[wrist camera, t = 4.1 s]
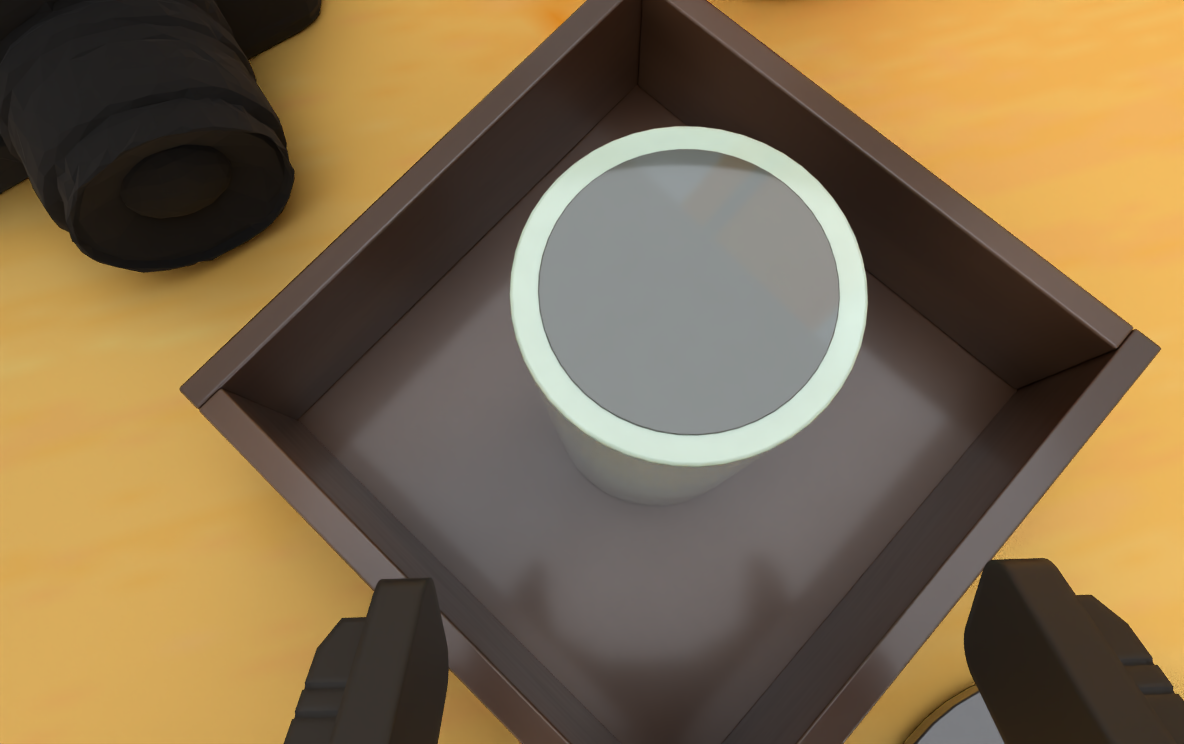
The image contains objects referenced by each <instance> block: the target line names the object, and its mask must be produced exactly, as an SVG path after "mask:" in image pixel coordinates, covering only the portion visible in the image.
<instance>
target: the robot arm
mask: <svg viewBox="0 0 1184 744" xmlns="http://www.w3.org/2000/svg"><path fill="white" fill-rule="evenodd" d="M964 649H965V656H966V661H967V664H968V667H969V670H970V673H971V675H972V678H973V680H974V682H975V684H976V686H977V688H978V690H979V692H980V694H981V696H982V698H983V700H984V702H985V705H986V707H987V709H988V711H989V713H990V715H991V717H992V719H993V721H994V723H995V725H996V727H997V729H998V732H999V734H1000V736H1001V738H1002V740H1003V742H1004V744H1184V701H1183V699H1182V698H1181V697H1180V695H1179V694H1175V693H1174V691H1173V686H1172V684H1171V683H1170V681H1169V680H1168V679H1167V677H1166V676H1165V675H1164V673H1163V672H1162V670H1161V669H1160V668H1159V666H1158V665H1154V664H1153V661H1152V659H1153V658H1152V657H1151V655H1150V654H1149V652H1148V651H1147V650H1146V648H1145V647H1144V646H1143V644H1142V643H1141V641H1140V640H1139V639H1138V637H1137V636H1136V635H1135V633H1134V632H1133V630H1132V629H1131V628H1130V626H1129V625H1128V624H1127V623H1126V622H1125V621H1124V620H1122V619H1121V618H1120V617H1119V616H1117V615H1116V614H1115V613H1114V612H1112V611H1111V610H1110V609H1109V608H1107V607H1106V606H1105V605H1104V604H1102V603H1101V602H1100V601H1099V600H1097V599H1096V598H1095V597H1094V596H1092V595H1075V593H1074V592H1073V590H1072V589H1071V587H1070V586H1069V584H1068V583H1067V582H1066V580H1065V579H1064V577H1063V576H1062V574H1061V573H1060V571H1059V570H1058V568H1057V567H1056V566H1055V565H1054V564H1053V563H1052V562H1051V561H1049V560H1048V559H1045V558H1033V559H1004V560H990V561H988V562H987V563H986V565H985V566H984V569H983V572H982V575H981V578H980V582H979V585H978V588H977V591H976V595H975V598H974V601H973V604H972V608H971V611H970V614H969V617H968V621H967V624H966V627H965V632H964ZM448 671H449V658H448V646H447V641H446V636H445V631H444V627H443V622H442V617H441V612H440V608H439V603H438V598H437V593H436V589H435V584H434V581H433V579H432V578H431V577H429V578H400V579H381V580H379V581H378V583H377V585H376V587H375V590H374V593H373V596H372V600H371V603H370V606H369V610H368V613H367V616H366V617H358V618H342V619H341V620H340V621H339V622H338V623H337V625H336V626H335V627H334V628H333V630H332V631H331V632H330V633H329V634H328V636H327V637H326V638H325V639H324V641H323V642H322V643H321V644H320V645H319V647H318V648H317V650H316V653H315V656H314V658H313V661H312V664H311V667H310V670H309V673H308V676H307V678H306V681H305V689H304V690H302V693H301V696H300V698H299V701H298V704H297V707H296V710H295V718H294V719H292V721H291V724H290V727H289V730H288V733H287V736H286V738H285V741H284V744H438V738H439V732H440V726H441V721H442V715H443V709H444V703H445V697H446V692H447V684H448Z"/></svg>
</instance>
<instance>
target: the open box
mask: <svg viewBox="0 0 1184 744" xmlns="http://www.w3.org/2000/svg"><path fill="white" fill-rule="evenodd" d="M675 126H692V127H706V128H714V129H721V130H725V131H729V132H733V133H737V134H741V135H744V136H747V137H749V138H752V139H755V140H757V141H760V142H762V143H765V144H767V145H768V146H770V147H772V148H774V149H776V150H778V151H780V152H782V153H784V154H785V155H786V156H788V157H789V158H791V159H792V160H794V161H795V162H796V163H798V164H799V165H801V166H802V167H803V168H804V169H806V170H807V171H808V172H809V173H810V174H811V175H812V176H813V177H814V178H816V179H817V180H818V181H819V182H820V183H821V185H822V186H823V187H824V188H825V189H826V190H827V192H828V193H829V194H830V195H831V196H832V197H833V199H834V200H835V202H836V203H837V205H838V206H839V208H840V209H841V211H842V212H843V214H844V215H845V217H846V219H847V221H848V223H849V225H850V227H851V229H852V231H853V233H854V235H855V237H856V240H857V243H858V246H859V249H860V252H861V255H862V258H863V263H864V268H865V273H866V279H867V293H868V309H867V320H866V328H865V332H864V336H863V341H862V345H861V348H860V351H859V354H858V356H857V359H856V361H855V364H854V367H853V369H852V371H851V373H850V374H849V376H848V378H847V380H846V381H845V383H844V385H843V387H842V389H841V390H840V391H839V393H838V394H837V395H836V397H835V398H834V399H833V400H832V402H831V403H830V404H829V406H828V407H827V408H826V409H825V410H824V411H823V412H822V413H821V414H820V415H819V416H818V417H817V418H816V419H815V420H814V421H813V422H812V423H811V424H810V425H808V426H807V427H806V428H804V429H803V430H802V431H800V432H799V433H798V434H796V435H795V436H794V437H792V438H791V439H789V440H788V441H786V442H785V443H783V444H782V445H780V446H779V447H777V448H775V449H774V450H772V451H771V452H769V453H768V454H766V455H765V456H763V457H762V458H760V459H758V460H757V461H755V462H754V463H752V464H751V465H749V466H748V467H746V468H745V469H743V470H741V471H740V472H738V473H737V474H735V475H734V476H732V477H731V478H729V479H728V480H726V481H724V482H723V483H721V484H720V485H718V486H717V487H715V488H714V489H712V490H711V491H709V492H707V493H705V494H703V495H702V496H700V497H697V498H695V499H692V500H690V501H687V502H684V503H679V504H675V505H668V506H644V505H637V504H632V503H629V502H626V501H622V500H619V499H617V498H615V497H613V496H610V495H608V494H607V493H605V492H603V491H602V490H600V489H599V488H597V487H596V486H594V485H593V484H592V483H591V482H590V481H588V480H587V479H586V478H585V477H584V476H583V475H582V474H581V473H580V472H579V471H578V469H577V468H576V467H575V465H574V464H573V463H572V461H571V460H570V458H569V456H568V455H567V453H566V451H565V449H564V447H563V445H562V443H561V441H560V438H559V436H558V434H557V432H556V430H555V428H554V425H553V423H552V421H551V419H550V417H549V415H548V412H547V410H546V408H545V406H544V404H543V402H542V399H541V397H540V395H539V393H538V391H537V389H536V386H535V384H534V382H533V380H532V378H531V376H530V373H529V371H528V369H527V367H526V365H525V363H524V360H523V357H522V355H521V352H520V349H519V347H518V344H517V341H516V338H515V333H514V329H513V324H512V320H511V310H510V298H509V293H510V274H511V269H512V264H513V259H514V253H515V250H516V247H517V244H518V241H519V238H520V235H521V232H522V230H523V228H524V226H525V224H526V222H527V220H528V218H529V216H530V214H531V212H532V211H533V209H534V208H535V206H536V205H537V203H538V202H539V200H540V199H541V197H542V196H543V194H544V193H545V192H546V191H547V190H548V189H549V188H550V186H551V185H552V184H553V183H554V182H555V181H556V180H557V178H558V177H560V176H561V175H562V174H563V173H564V172H565V171H567V170H568V169H569V168H570V167H571V166H572V165H573V164H575V163H576V162H577V161H579V160H580V159H582V158H583V157H585V156H586V155H588V154H589V153H591V152H592V151H594V150H596V149H598V148H600V147H602V146H604V145H606V144H608V143H610V142H612V141H614V140H617V139H620V138H622V137H625V136H628V135H631V134H634V133H638V132H642V131H647V130H651V129H656V128H666V127H675ZM1160 350H1161V348H1160V347H1159V346H1158V345H1157V344H1155V343H1154V342H1153V341H1152V340H1150V339H1149V338H1148V337H1146V336H1145V335H1144V334H1142V333H1141V332H1140V331H1138V330H1137V329H1134V330H1133V327H1132V326H1131V325H1130V324H1129V323H1127V322H1126V321H1125V320H1123V319H1122V318H1121V317H1120V316H1118V315H1117V314H1116V313H1114V312H1113V311H1112V310H1110V309H1109V308H1108V307H1107V306H1105V305H1104V304H1103V303H1101V302H1100V301H1099V300H1097V299H1096V298H1095V297H1093V296H1092V295H1091V294H1090V293H1088V292H1087V291H1086V290H1084V289H1083V288H1082V287H1080V286H1079V285H1078V284H1076V283H1075V282H1074V281H1073V280H1071V279H1070V278H1069V277H1067V276H1066V275H1065V274H1063V273H1062V272H1061V271H1059V270H1058V269H1057V268H1056V267H1054V266H1053V265H1052V264H1050V263H1049V262H1048V261H1046V260H1045V259H1044V258H1043V257H1041V256H1040V255H1039V254H1037V253H1036V252H1035V251H1033V250H1032V249H1031V248H1029V247H1028V246H1027V245H1026V244H1024V243H1023V242H1022V241H1020V240H1019V239H1018V238H1016V237H1015V236H1014V235H1012V234H1011V233H1010V232H1009V231H1007V230H1006V229H1005V228H1003V227H1002V226H1001V225H999V224H998V223H997V222H995V221H994V220H993V219H992V218H990V217H989V216H988V215H986V214H985V213H984V212H982V211H981V210H980V209H979V208H977V207H976V206H975V205H973V204H972V203H971V202H969V201H968V200H967V199H965V198H964V197H963V196H962V195H960V194H959V193H958V192H956V191H955V190H954V189H952V188H951V187H950V186H948V185H947V184H946V183H945V182H943V181H942V180H941V179H939V178H938V177H937V176H935V175H934V174H933V173H931V172H930V171H929V170H928V169H926V168H925V167H924V166H922V165H921V164H920V163H918V162H917V161H916V160H915V159H913V158H912V157H911V156H909V155H908V154H907V153H905V152H904V151H903V150H901V149H900V148H899V147H898V146H896V145H895V144H894V143H892V142H891V141H890V140H888V139H887V138H886V137H884V136H883V135H882V134H881V133H879V132H878V131H877V130H875V129H874V128H873V127H871V126H870V125H869V124H867V123H866V122H865V121H864V120H862V119H861V118H860V117H858V116H857V115H856V114H854V113H853V112H852V111H850V110H849V109H848V108H847V107H845V106H844V105H843V104H841V103H840V102H839V101H837V100H836V99H835V98H834V97H832V96H831V95H830V94H828V93H827V92H826V91H824V90H823V89H822V88H820V87H819V86H818V85H817V84H815V83H814V82H813V81H811V80H810V79H809V78H807V77H806V76H805V75H803V74H802V73H801V72H800V71H798V70H797V69H796V68H794V67H793V66H792V65H790V64H789V63H788V62H786V61H785V60H784V59H783V58H781V57H780V56H779V55H777V54H776V53H775V52H773V51H772V50H771V49H770V48H768V47H767V46H766V45H764V44H763V43H762V42H760V41H759V40H758V39H756V38H755V37H754V36H753V35H751V34H750V33H749V32H747V31H746V30H745V29H743V28H742V27H741V26H739V25H738V24H737V23H736V22H734V21H733V20H732V19H730V18H729V17H728V16H726V15H725V14H724V13H722V12H721V11H720V10H719V9H717V8H716V7H715V6H713V5H712V4H711V3H709V2H708V1H707V0H587V1H586V2H585V3H584V4H582V5H581V6H580V7H579V8H578V9H577V10H576V11H575V12H574V13H573V14H572V15H571V16H570V17H569V18H568V19H567V20H566V21H565V22H564V23H562V24H561V25H560V26H559V27H558V28H557V29H556V30H555V31H554V32H553V33H552V34H551V35H550V36H549V37H548V38H547V39H546V40H545V41H544V42H543V43H541V44H540V45H539V46H538V47H537V48H536V49H535V50H534V51H533V52H532V53H531V54H530V55H529V56H528V57H527V58H526V59H525V60H524V61H523V62H522V63H520V64H519V65H518V66H517V67H516V68H515V69H514V70H513V71H512V72H511V73H510V74H509V75H508V76H507V77H506V78H505V79H504V80H503V81H502V82H500V83H499V84H498V85H497V86H496V87H495V88H494V89H493V90H492V91H491V92H490V93H489V94H488V95H487V96H486V97H485V98H484V99H483V100H482V101H481V102H479V103H478V104H477V105H476V106H475V107H474V108H473V109H472V110H471V111H470V112H469V113H468V114H467V115H466V116H465V117H464V118H463V119H462V120H461V121H459V122H458V123H457V124H456V125H455V126H454V127H453V128H452V129H451V130H450V131H449V132H448V133H447V134H446V135H445V136H444V137H443V138H442V139H441V140H440V141H438V142H437V143H436V144H435V145H434V146H433V147H432V148H431V149H430V150H429V151H428V152H427V153H426V154H425V155H424V156H423V157H422V158H421V159H420V160H419V161H417V162H416V163H415V164H414V165H413V166H412V167H411V168H410V169H409V170H408V171H407V172H406V173H405V174H404V175H403V176H402V177H401V178H400V179H399V180H397V181H396V182H395V183H394V184H393V185H392V186H391V187H390V188H389V189H388V190H387V191H386V192H385V193H384V194H383V195H382V196H381V197H380V198H379V199H378V200H376V201H375V202H374V203H373V204H372V205H371V206H370V207H369V208H368V209H367V210H366V211H365V212H364V213H363V214H362V215H361V216H360V217H359V218H358V219H357V220H355V221H354V222H353V223H352V224H351V225H350V226H349V227H348V228H347V229H346V230H345V231H344V232H343V233H342V234H341V235H340V236H339V237H338V238H337V239H335V240H334V241H333V242H332V243H331V244H330V245H329V246H328V247H327V248H326V249H325V250H324V251H323V252H322V253H321V254H320V255H319V256H318V257H317V258H316V259H314V260H313V261H312V262H311V263H310V264H309V265H308V266H307V267H306V268H305V269H304V270H303V271H302V272H301V273H300V274H299V275H298V276H297V277H296V278H294V279H293V280H292V281H291V282H290V283H289V284H288V285H287V286H286V287H285V288H284V289H283V290H282V291H281V292H280V293H279V294H278V295H277V296H276V297H275V298H273V299H272V300H271V301H270V302H269V303H268V304H267V305H266V306H265V307H264V308H263V309H262V310H261V311H260V312H259V313H258V314H257V315H256V316H255V317H254V318H252V319H251V320H250V321H249V322H248V323H247V324H246V325H245V326H244V327H243V328H242V329H241V330H240V331H239V332H238V333H237V334H236V335H235V336H234V337H232V338H231V339H230V340H229V341H228V342H227V343H226V344H225V345H224V346H223V347H222V348H221V349H220V350H219V351H218V352H217V353H216V354H215V355H214V356H213V357H211V358H210V359H209V360H208V361H207V362H206V363H205V364H204V365H203V366H202V367H201V368H200V369H199V370H198V371H197V372H196V373H195V374H194V375H193V376H191V377H190V378H189V379H188V380H187V381H186V382H185V383H184V384H183V385H182V386H181V387H180V391H181V393H182V394H183V395H184V396H185V397H186V398H187V399H188V400H189V401H190V402H191V403H192V404H193V405H194V406H195V407H196V408H198V409H199V411H200V412H201V414H202V415H203V416H204V417H205V418H206V419H207V420H208V421H209V422H210V423H211V424H212V425H213V426H214V427H215V428H216V429H217V430H218V431H219V432H220V433H221V434H222V435H223V436H224V437H225V438H226V439H227V440H228V441H229V442H230V443H231V444H232V445H233V447H234V448H235V449H236V450H237V451H238V452H239V453H240V454H241V455H242V456H243V457H244V458H245V459H246V460H247V461H248V462H249V463H250V464H251V465H252V466H253V467H254V468H255V469H256V470H257V471H258V472H259V473H260V474H261V475H262V476H263V477H264V479H265V480H266V481H267V482H268V483H269V484H270V485H271V486H272V487H273V488H274V489H275V490H276V491H277V492H278V493H279V494H280V495H281V496H282V497H283V498H284V499H285V500H286V501H287V502H288V503H289V504H290V505H291V506H292V507H293V508H294V509H295V510H296V512H297V513H298V514H299V515H300V516H301V517H302V518H303V519H304V520H305V521H306V522H307V523H308V524H309V525H310V526H311V527H312V528H313V529H314V530H315V531H316V532H317V533H318V534H319V535H320V536H321V537H322V538H323V539H324V540H325V541H326V542H327V543H328V545H329V546H330V547H331V548H332V549H333V550H334V551H335V552H336V553H337V554H338V555H339V556H340V557H341V558H342V559H343V560H344V561H345V562H346V563H347V564H348V565H349V566H350V567H351V568H352V569H353V570H354V571H355V572H356V573H357V574H358V575H359V577H360V578H361V579H362V580H363V581H364V582H365V583H366V584H367V585H368V586H369V587H370V588H371V589H372V590H373V591H374V590H375V587H376V585H377V583H378V581H379V580H381V579H400V578H429V577H431V578H432V579H433V581H434V584H435V589H436V593H437V598H438V603H439V608H440V612H441V617H442V622H443V627H444V631H445V636H446V641H447V646H448V658H449V669H450V670H451V671H452V672H453V673H454V675H455V676H456V677H457V678H458V679H459V680H460V681H461V682H462V683H463V684H464V685H465V686H466V687H467V688H468V689H469V690H470V691H471V692H472V693H473V694H474V695H475V696H476V697H477V698H478V699H479V700H480V701H481V702H482V703H483V704H484V705H485V707H486V708H487V709H488V710H489V711H490V712H491V713H492V714H493V715H494V716H495V717H496V718H497V719H498V720H499V721H500V722H501V723H502V724H503V725H504V726H505V727H506V728H507V729H508V730H509V731H510V732H511V733H512V734H513V735H514V736H515V737H516V738H517V740H518V741H519V742H520V743H521V744H843V743H844V742H845V741H846V740H847V738H848V737H849V736H850V735H851V733H852V732H853V731H854V730H855V729H856V727H857V726H858V725H859V724H860V722H861V721H862V720H863V719H864V717H865V716H866V715H867V714H868V712H869V711H870V710H871V709H872V707H873V706H874V705H875V704H876V702H877V701H878V700H879V699H880V698H881V696H882V695H883V694H884V693H885V691H886V690H887V689H888V688H889V686H890V685H891V684H892V683H893V681H894V680H895V679H896V678H897V676H898V675H899V674H900V673H901V671H902V670H903V669H904V668H905V666H906V665H907V664H908V663H909V662H910V660H911V659H912V658H913V657H914V655H915V654H916V653H917V652H918V650H919V649H920V648H921V647H922V645H923V644H924V643H925V642H926V640H927V639H928V638H929V637H930V635H931V634H932V633H933V632H934V631H935V629H936V628H937V627H938V626H939V624H940V623H941V622H942V621H943V619H944V618H945V617H946V616H947V614H948V613H949V612H950V611H951V609H952V608H953V607H954V606H955V604H956V603H957V602H958V601H959V600H960V598H961V597H962V596H963V595H964V593H965V592H966V591H967V590H968V588H969V587H970V586H971V585H972V583H973V582H974V581H975V580H976V578H977V577H978V576H979V575H980V573H981V572H982V571H983V569H984V566H985V565H986V563H987V562H988V561H990V560H992V559H993V557H994V556H995V555H996V554H997V552H998V551H999V550H1000V549H1001V547H1002V546H1003V545H1004V544H1005V542H1006V541H1007V540H1008V539H1009V537H1010V536H1011V535H1012V534H1013V533H1014V531H1015V530H1016V529H1017V528H1018V526H1019V525H1020V524H1021V523H1022V521H1023V520H1024V519H1025V518H1026V516H1027V515H1028V514H1029V513H1030V511H1031V510H1032V509H1033V508H1034V506H1035V505H1036V504H1037V503H1038V501H1039V500H1040V499H1041V498H1042V497H1043V495H1044V494H1045V493H1046V492H1047V490H1048V489H1049V488H1050V487H1051V485H1052V484H1053V483H1054V482H1055V480H1056V479H1057V478H1058V477H1059V475H1060V474H1061V473H1062V472H1063V470H1064V469H1065V468H1066V467H1067V466H1068V464H1069V463H1070V462H1071V461H1072V459H1073V458H1074V457H1075V456H1076V454H1077V453H1078V452H1079V451H1080V449H1081V448H1082V447H1083V446H1084V444H1085V443H1086V442H1087V441H1088V439H1089V438H1090V437H1091V436H1092V435H1093V433H1094V432H1095V431H1096V430H1097V428H1098V427H1099V426H1100V425H1101V423H1102V422H1103V421H1104V420H1105V418H1106V417H1107V416H1108V415H1109V413H1110V412H1111V411H1112V410H1113V408H1114V407H1115V406H1116V405H1117V403H1118V402H1119V401H1120V400H1121V399H1122V397H1123V396H1124V395H1125V394H1126V392H1127V391H1128V390H1129V389H1130V387H1131V386H1132V385H1133V384H1134V382H1135V381H1136V380H1137V379H1138V377H1139V376H1140V375H1141V374H1142V372H1143V371H1144V370H1145V369H1146V368H1147V366H1148V365H1149V364H1150V363H1151V361H1152V360H1153V359H1154V358H1155V356H1156V355H1157V354H1158V353H1159V351H1160Z"/></svg>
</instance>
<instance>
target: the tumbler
mask: <svg viewBox="0 0 1184 744" xmlns="http://www.w3.org/2000/svg"><path fill="white" fill-rule="evenodd" d="M509 298H510V310H511V320H512V324H513V329H514V333H515V338H516V341H517V344H518V347H519V349H520V352H521V355H522V357H523V360H524V363H525V365H526V367H527V369H528V371H529V373H530V376H531V378H532V380H533V382H534V384H535V386H536V389H537V391H538V393H539V395H540V397H541V399H542V402H543V404H544V406H545V408H546V410H547V412H548V415H549V417H550V419H551V421H552V423H553V425H554V428H555V430H556V432H557V434H558V436H559V438H560V441H561V443H562V445H563V447H564V449H565V451H566V453H567V455H568V456H569V458H570V460H571V461H572V463H573V464H574V465H575V467H576V468H577V469H578V471H579V472H580V473H581V474H582V475H583V476H584V477H585V478H586V479H587V480H588V481H590V482H591V483H592V484H593V485H594V486H596V487H597V488H599V489H600V490H602V491H603V492H605V493H607V494H608V495H610V496H613V497H615V498H617V499H619V500H622V501H626V502H629V503H632V504H637V505H644V506H668V505H675V504H679V503H684V502H687V501H690V500H692V499H695V498H697V497H700V496H702V495H703V494H705V493H707V492H709V491H711V490H712V489H714V488H715V487H717V486H718V485H720V484H721V483H723V482H724V481H726V480H728V479H729V478H731V477H732V476H734V475H735V474H737V473H738V472H740V471H741V470H743V469H745V468H746V467H748V466H749V465H751V464H752V463H754V462H755V461H757V460H758V459H760V458H762V457H763V456H765V455H766V454H768V453H769V452H771V451H772V450H774V449H775V448H777V447H779V446H780V445H782V444H783V443H785V442H786V441H788V440H789V439H791V438H792V437H794V436H795V435H796V434H798V433H799V432H800V431H802V430H803V429H804V428H806V427H807V426H808V425H810V424H811V423H812V422H813V421H814V420H815V419H816V418H817V417H818V416H819V415H820V414H821V413H822V412H823V411H824V410H825V409H826V408H827V407H828V406H829V404H830V403H831V402H832V400H833V399H834V398H835V397H836V395H837V394H838V393H839V391H840V390H841V389H842V387H843V385H844V383H845V381H846V380H847V378H848V376H849V374H850V373H851V371H852V369H853V367H854V364H855V361H856V359H857V356H858V354H859V351H860V348H861V345H862V341H863V336H864V332H865V328H866V320H867V309H868V293H867V279H866V273H865V268H864V263H863V258H862V255H861V252H860V249H859V246H858V243H857V240H856V237H855V235H854V233H853V231H852V229H851V227H850V225H849V223H848V221H847V219H846V217H845V215H844V214H843V212H842V211H841V209H840V208H839V206H838V205H837V203H836V202H835V200H834V199H833V197H832V196H831V195H830V194H829V193H828V192H827V190H826V189H825V188H824V187H823V186H822V185H821V183H820V182H819V181H818V180H817V179H816V178H814V177H813V176H812V175H811V174H810V173H809V172H808V171H807V170H806V169H804V168H803V167H802V166H801V165H799V164H798V163H796V162H795V161H794V160H792V159H791V158H789V157H788V156H786V155H785V154H784V153H782V152H780V151H778V150H776V149H774V148H772V147H770V146H768V145H767V144H765V143H762V142H760V141H757V140H755V139H752V138H749V137H747V136H744V135H741V134H737V133H733V132H729V131H725V130H721V129H714V128H706V127H692V126H675V127H666V128H656V129H651V130H647V131H642V132H638V133H634V134H631V135H628V136H625V137H622V138H620V139H617V140H614V141H612V142H610V143H608V144H606V145H604V146H602V147H600V148H598V149H596V150H594V151H592V152H591V153H589V154H588V155H586V156H585V157H583V158H582V159H580V160H579V161H577V162H576V163H575V164H573V165H572V166H571V167H570V168H569V169H568V170H567V171H565V172H564V173H563V174H562V175H561V176H560V177H558V178H557V180H556V181H555V182H554V183H553V184H552V185H551V186H550V188H549V189H548V190H547V191H546V192H545V193H544V194H543V196H542V197H541V199H540V200H539V202H538V203H537V205H536V206H535V208H534V209H533V211H532V212H531V214H530V216H529V218H528V220H527V222H526V224H525V226H524V228H523V230H522V232H521V235H520V238H519V241H518V244H517V247H516V250H515V253H514V259H513V264H512V269H511V274H510V293H509Z"/></svg>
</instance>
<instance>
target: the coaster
mask: <svg viewBox="0 0 1184 744" xmlns="http://www.w3.org/2000/svg"><path fill="white" fill-rule="evenodd" d="M904 744H1004V742H1003V740H1002V738H1001V736H1000V734H999V732H998V729H997V727H996V725H995V723H994V721H993V719H992V717H991V715H990V713H989V711H988V709H987V707H986V705H985V702H984V700H983V698H982V696H981V694H980V692H979V690H978V688H977V686H976V685H974V686H972V687H970V688H968V689H966V690H965V691H963V692H961V693H960V694H958V695H956V696H954V697H953V698H951V699H949V700H948V701H946V702H945V703H944V704H943V705H941V706H940V707H939V708H938V709H936V710H935V711H934V712H933V713H932V714H930V715H929V716H928V717H927V718H925V719H924V721H923V722H922V723H921V724H920V725H919V726H918V727H917V728H916V729H915V730H914V731H913V733H912V734H911V735H910V736H909V737H908V738H907V739H906V741H905V742H904Z"/></svg>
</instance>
